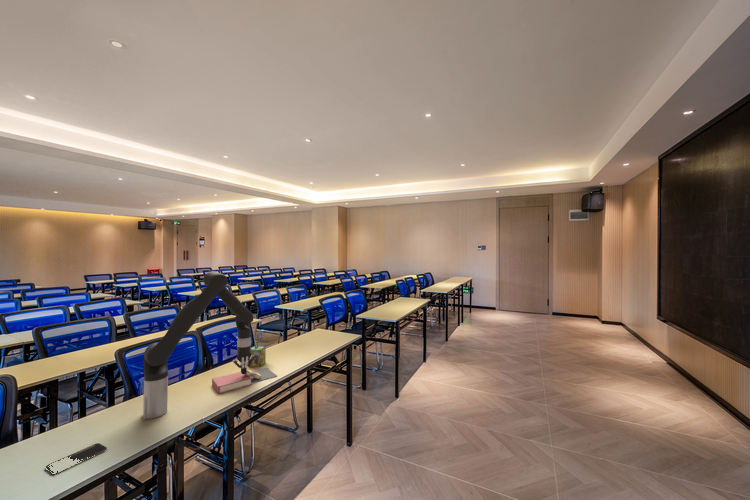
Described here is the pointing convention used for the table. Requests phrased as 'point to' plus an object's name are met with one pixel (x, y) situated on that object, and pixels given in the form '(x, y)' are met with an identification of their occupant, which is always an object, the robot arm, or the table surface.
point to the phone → (85, 453)
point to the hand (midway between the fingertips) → (243, 373)
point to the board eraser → (253, 374)
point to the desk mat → (263, 375)
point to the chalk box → (258, 355)
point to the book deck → (231, 382)
